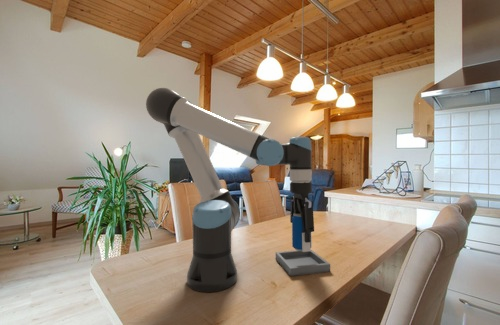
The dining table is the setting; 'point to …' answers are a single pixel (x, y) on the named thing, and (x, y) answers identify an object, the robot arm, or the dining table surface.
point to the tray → (302, 262)
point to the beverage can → (297, 232)
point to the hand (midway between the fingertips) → (301, 247)
